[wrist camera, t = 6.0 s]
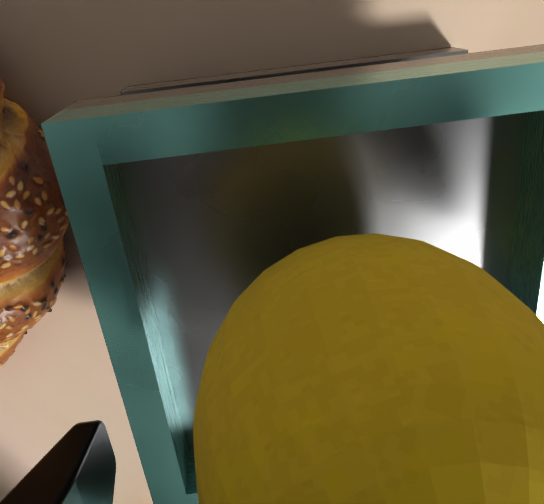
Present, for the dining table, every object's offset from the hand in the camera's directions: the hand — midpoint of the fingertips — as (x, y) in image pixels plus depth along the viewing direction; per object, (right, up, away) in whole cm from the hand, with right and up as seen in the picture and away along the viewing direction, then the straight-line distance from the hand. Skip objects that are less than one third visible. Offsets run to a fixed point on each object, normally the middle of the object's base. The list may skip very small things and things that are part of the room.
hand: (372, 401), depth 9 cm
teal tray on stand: (-1, +4, +7) cm, 8 cm away
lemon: (0, +1, +3) cm, 3 cm away
